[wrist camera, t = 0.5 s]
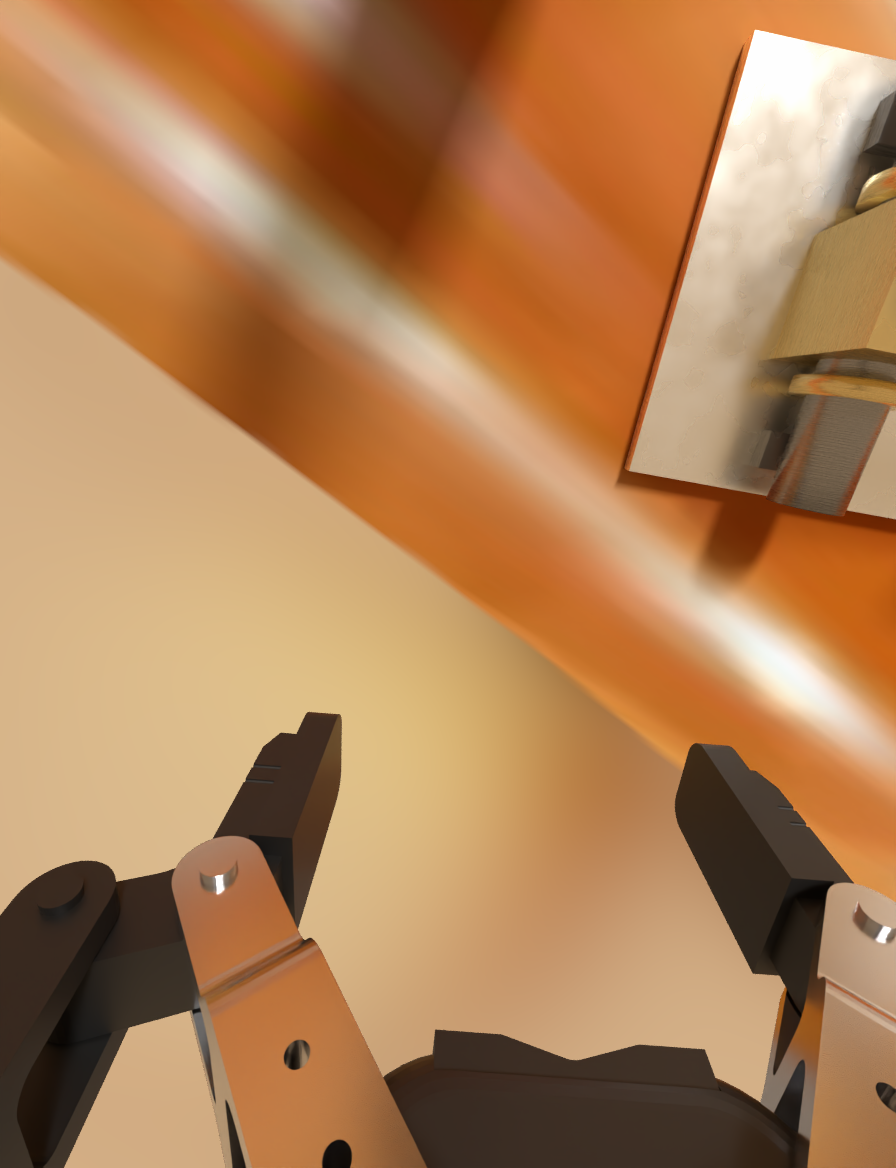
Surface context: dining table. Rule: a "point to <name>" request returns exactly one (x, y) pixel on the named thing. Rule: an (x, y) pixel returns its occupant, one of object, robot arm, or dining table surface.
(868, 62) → the valve
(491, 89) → the dining table surface
